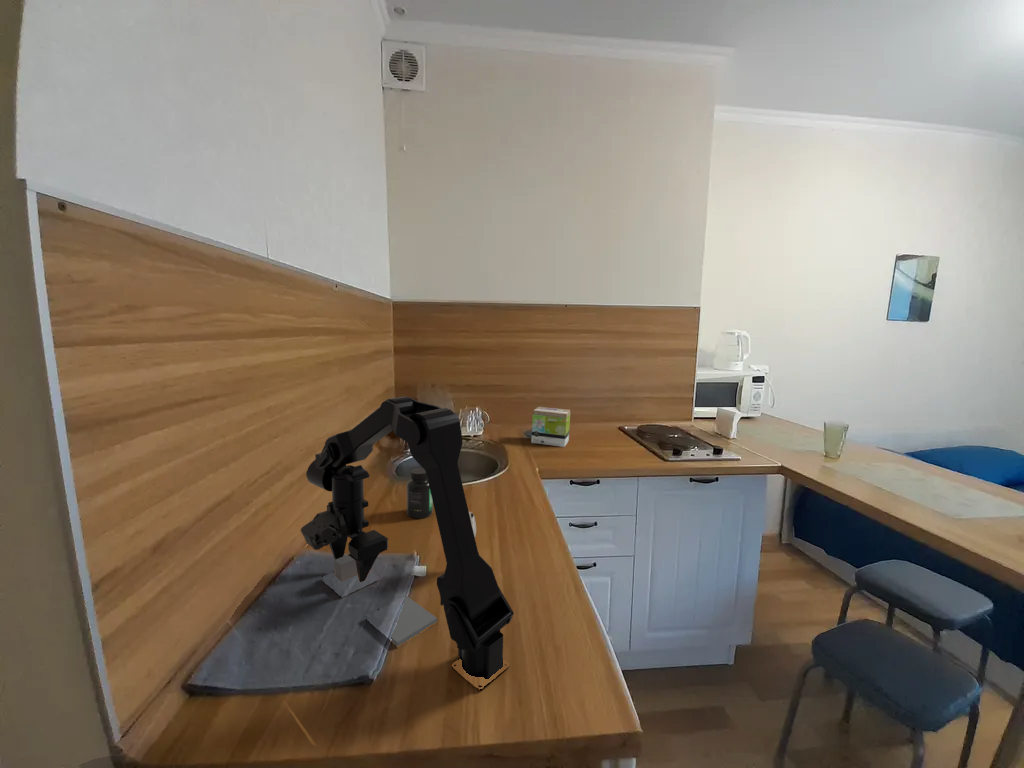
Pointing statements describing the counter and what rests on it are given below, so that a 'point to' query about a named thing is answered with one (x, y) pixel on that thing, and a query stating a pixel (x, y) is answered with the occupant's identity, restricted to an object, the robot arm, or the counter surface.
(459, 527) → the robot arm
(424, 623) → the panel
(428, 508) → the supplement bottle
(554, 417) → the tea box
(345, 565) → the stub
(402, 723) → the counter surface
